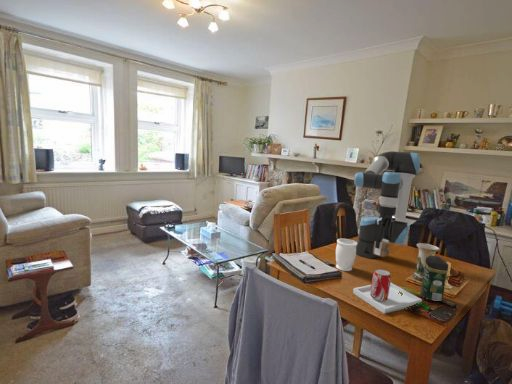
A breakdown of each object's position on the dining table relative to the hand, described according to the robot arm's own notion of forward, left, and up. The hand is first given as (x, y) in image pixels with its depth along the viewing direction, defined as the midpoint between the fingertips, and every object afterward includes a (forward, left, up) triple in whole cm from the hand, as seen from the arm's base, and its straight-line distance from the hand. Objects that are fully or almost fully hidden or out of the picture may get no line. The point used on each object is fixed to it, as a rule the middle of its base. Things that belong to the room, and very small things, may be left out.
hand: (380, 253), depth 135 cm
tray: (+7, +12, -15) cm, 21 cm away
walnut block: (0, 0, 0) cm, 0 cm away
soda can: (+12, +12, -15) cm, 22 cm away
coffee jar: (-14, +18, -15) cm, 27 cm away
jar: (+3, -19, -15) cm, 25 cm away
